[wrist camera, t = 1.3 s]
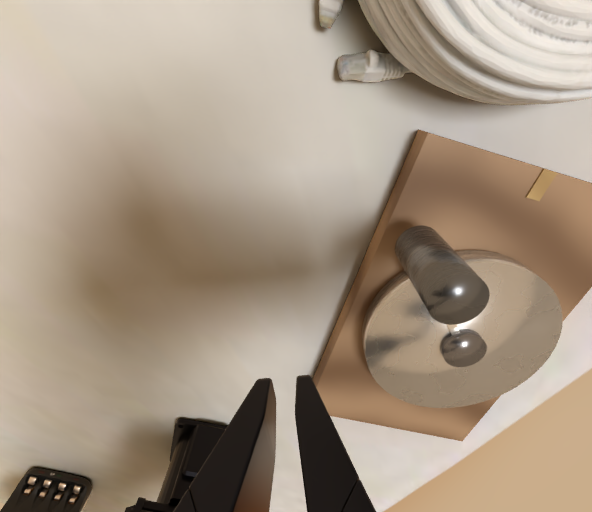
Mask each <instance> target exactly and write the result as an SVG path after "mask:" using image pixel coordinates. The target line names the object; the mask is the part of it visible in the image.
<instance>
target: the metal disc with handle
mask: <svg viewBox="0 0 592 512" xmlns="http://www.w3.org/2000/svg"><path fill="white" fill-rule="evenodd" d="M395 254H396V256H397V258H398V260H399V261H400V263H401V265H402V267H403V268H404V271H403V272H401V273H400V274H398V275H397V276H396V277H394V278H393V279H392V280H391V281H389V282H388V283H387V284H386V285H385V286H384V287H383V288H382V289H381V290H380V292H379V293H378V294H377V296H376V297H375V298H374V300H373V301H372V303H371V305H370V306H369V308H368V310H367V313H366V315H365V318H364V322H363V326H362V344H363V349H364V353H365V357H366V361H367V365H368V368H369V371H370V372H371V374H372V376H373V378H374V379H375V381H376V382H377V383H378V384H379V385H380V386H381V387H382V388H383V389H384V390H385V391H386V392H388V393H389V394H391V395H392V396H394V397H396V398H398V399H400V400H402V401H405V402H407V403H410V404H414V405H418V406H423V407H430V408H454V407H463V406H468V405H473V404H477V403H480V402H484V401H487V400H490V399H492V398H495V397H498V396H500V395H502V394H504V393H506V392H508V391H510V390H512V389H513V388H515V387H517V386H518V385H520V384H521V383H523V382H524V381H526V380H527V379H528V378H529V377H531V376H532V375H533V374H534V373H535V372H536V371H537V370H538V369H539V368H540V367H541V366H542V365H543V364H544V363H545V362H546V360H547V359H548V358H549V356H550V355H551V353H552V352H553V350H554V348H555V347H556V344H557V342H558V340H559V337H560V333H561V329H562V319H563V316H562V309H561V305H560V302H559V299H558V297H557V296H556V294H555V292H554V291H553V289H552V288H551V287H550V286H549V285H548V284H547V283H546V282H545V281H544V280H543V279H541V278H540V277H539V276H538V275H536V274H535V273H534V272H533V271H531V270H530V269H529V268H527V267H526V266H525V265H523V264H522V263H521V262H519V261H517V260H515V259H513V258H511V257H509V256H506V255H503V254H500V253H495V252H490V251H481V250H464V251H454V250H453V248H452V247H451V246H450V245H449V244H448V243H447V242H446V241H445V240H444V239H443V238H442V237H441V236H440V235H439V234H438V233H437V232H436V231H435V230H434V229H433V228H431V227H428V226H424V225H419V226H414V227H411V228H409V229H407V230H405V231H404V232H403V233H402V234H401V235H400V236H399V237H398V239H397V241H396V244H395Z"/></svg>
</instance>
